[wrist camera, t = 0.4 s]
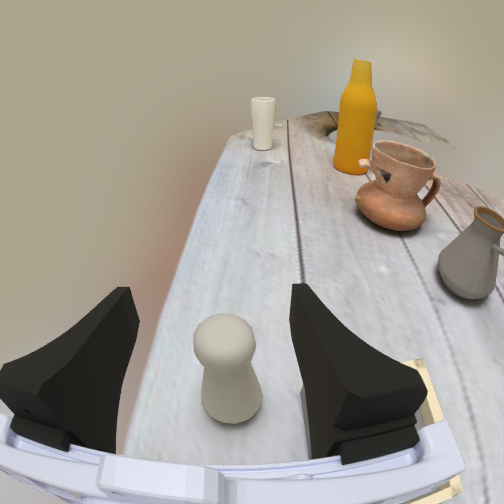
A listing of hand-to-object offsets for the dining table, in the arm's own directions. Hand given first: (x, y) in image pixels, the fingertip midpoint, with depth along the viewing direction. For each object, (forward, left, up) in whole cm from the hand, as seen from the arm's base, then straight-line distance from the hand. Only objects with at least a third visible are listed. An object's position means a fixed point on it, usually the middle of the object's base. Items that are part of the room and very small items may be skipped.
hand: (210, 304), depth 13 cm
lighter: (+114, -61, -20) cm, 131 cm away
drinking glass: (+75, -8, -20) cm, 78 cm away
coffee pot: (+13, -36, -20) cm, 43 cm away
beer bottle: (+61, -30, -20) cm, 71 cm away
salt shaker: (+3, 0, -20) cm, 20 cm away
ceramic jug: (+37, -31, -20) cm, 52 cm away
